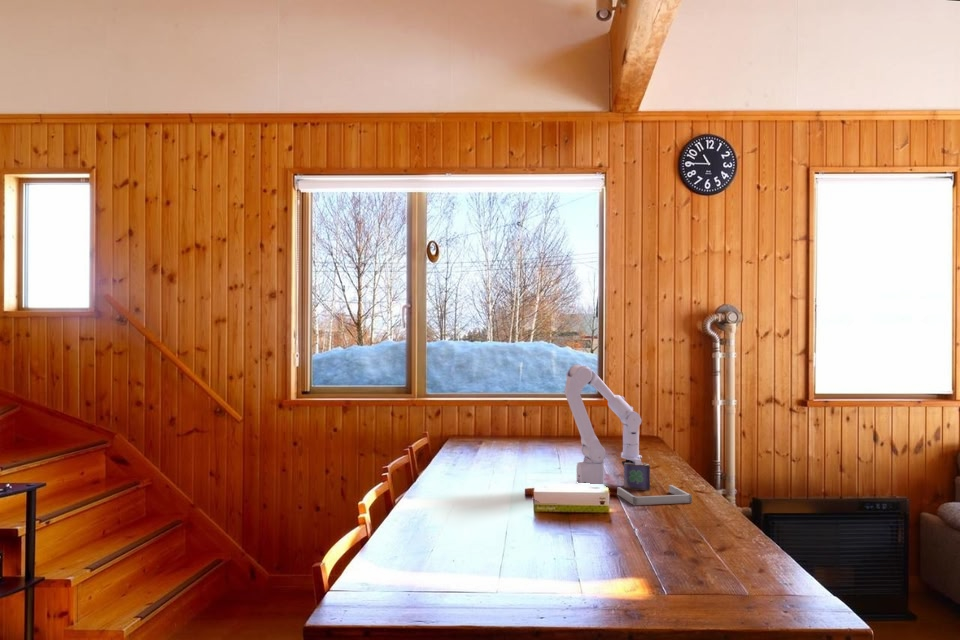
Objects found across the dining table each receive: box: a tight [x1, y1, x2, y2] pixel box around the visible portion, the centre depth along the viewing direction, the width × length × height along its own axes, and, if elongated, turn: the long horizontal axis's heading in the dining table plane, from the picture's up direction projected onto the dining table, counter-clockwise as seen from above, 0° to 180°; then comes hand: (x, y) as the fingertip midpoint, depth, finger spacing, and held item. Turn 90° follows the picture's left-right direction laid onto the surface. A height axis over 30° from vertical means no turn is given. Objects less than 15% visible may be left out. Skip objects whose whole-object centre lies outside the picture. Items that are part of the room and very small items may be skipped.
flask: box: [623, 458, 651, 492], centre depth 262 cm, size 9×3×11 cm, turn 65°
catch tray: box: [616, 484, 693, 506], centre depth 247 cm, size 20×15×2 cm
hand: (630, 481), depth 267 cm, fingers closed
